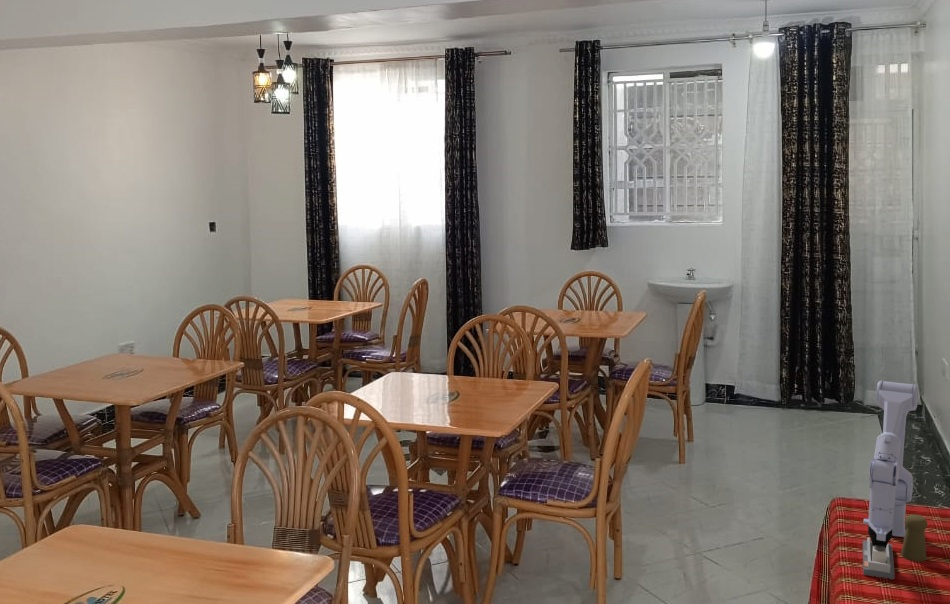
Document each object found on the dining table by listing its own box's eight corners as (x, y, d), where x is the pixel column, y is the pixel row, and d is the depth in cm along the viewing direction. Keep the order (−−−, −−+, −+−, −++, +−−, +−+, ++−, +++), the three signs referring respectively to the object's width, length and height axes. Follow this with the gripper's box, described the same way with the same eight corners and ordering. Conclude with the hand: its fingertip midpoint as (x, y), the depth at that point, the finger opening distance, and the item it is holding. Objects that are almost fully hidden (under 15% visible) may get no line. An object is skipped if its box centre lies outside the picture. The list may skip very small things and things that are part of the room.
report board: (862, 545, 232) (863, 533, 231) (891, 549, 229) (892, 537, 229) (863, 574, 216) (864, 561, 215) (894, 579, 213) (895, 566, 212)
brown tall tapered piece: (929, 562, 222) (932, 522, 220) (904, 560, 223) (907, 520, 221) (922, 551, 228) (925, 512, 226) (897, 550, 229) (900, 511, 227)
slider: (872, 560, 220) (873, 543, 219) (884, 562, 218) (886, 544, 218) (872, 565, 217) (873, 547, 216) (885, 567, 216) (886, 549, 215)
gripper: (864, 493, 226) (861, 541, 228) (864, 514, 213) (861, 565, 215) (893, 497, 223) (890, 546, 226) (896, 518, 210) (892, 570, 213)
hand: (878, 555), depth 220 cm, fingers closed
